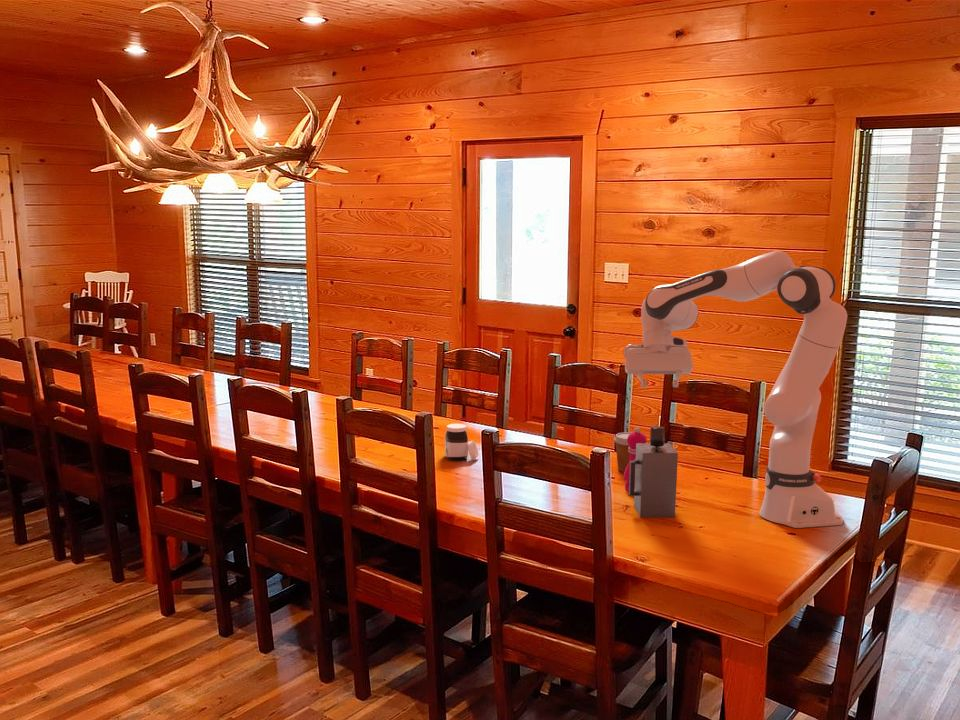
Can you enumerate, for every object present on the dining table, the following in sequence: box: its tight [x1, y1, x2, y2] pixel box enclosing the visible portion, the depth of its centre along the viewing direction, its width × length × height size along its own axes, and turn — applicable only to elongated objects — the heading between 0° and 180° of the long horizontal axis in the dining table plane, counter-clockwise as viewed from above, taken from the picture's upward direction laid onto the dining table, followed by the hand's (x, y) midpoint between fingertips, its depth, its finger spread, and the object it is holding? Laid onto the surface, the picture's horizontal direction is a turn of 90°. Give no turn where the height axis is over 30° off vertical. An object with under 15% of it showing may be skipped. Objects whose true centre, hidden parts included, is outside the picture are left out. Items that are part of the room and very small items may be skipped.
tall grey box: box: [628, 442, 679, 518], centre depth 254 cm, size 12×10×19 cm
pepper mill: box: [623, 427, 648, 492], centre depth 274 cm, size 7×7×20 cm
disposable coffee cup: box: [613, 431, 632, 473], centre depth 294 cm, size 10×10×12 cm
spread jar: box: [444, 423, 479, 462], centre depth 306 cm, size 12×11×12 cm
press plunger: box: [649, 425, 666, 449], centre depth 253 cm, size 8×8×17 cm
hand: (659, 386), depth 263 cm, fingers open, 8 cm apart
